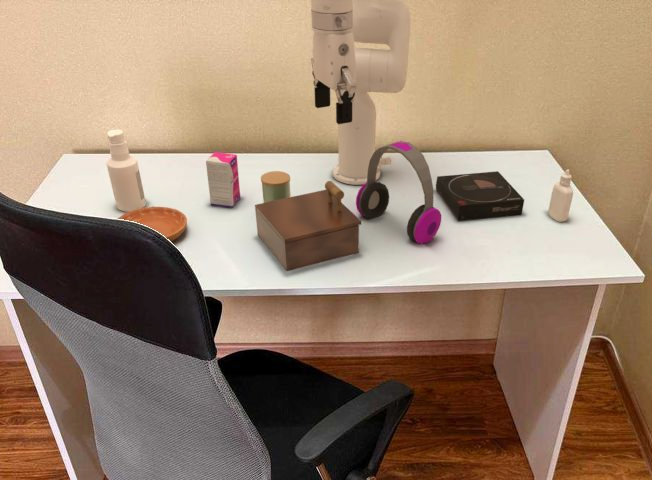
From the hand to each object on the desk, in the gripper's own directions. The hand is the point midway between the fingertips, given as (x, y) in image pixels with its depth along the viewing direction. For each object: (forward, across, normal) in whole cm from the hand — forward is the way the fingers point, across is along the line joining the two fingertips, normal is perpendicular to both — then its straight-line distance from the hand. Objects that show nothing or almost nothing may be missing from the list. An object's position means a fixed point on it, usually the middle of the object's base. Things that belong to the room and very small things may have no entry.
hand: (333, 114), depth 131 cm
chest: (+28, 0, +7) cm, 29 cm away
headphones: (+28, -2, -15) cm, 32 cm away
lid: (+21, 0, +6) cm, 22 cm away
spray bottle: (+28, +36, +37) cm, 59 cm away
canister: (+28, +16, +7) cm, 33 cm away
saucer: (+28, +20, +36) cm, 50 cm away
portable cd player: (+28, +2, -40) cm, 49 cm away
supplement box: (+28, +28, +16) cm, 43 cm away
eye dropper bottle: (+28, -14, -53) cm, 62 cm away
